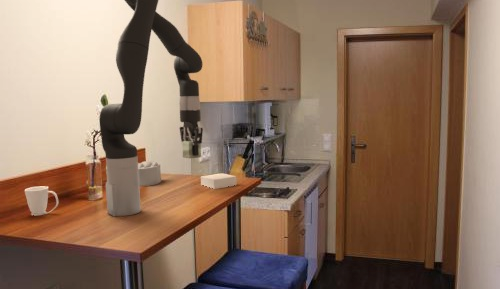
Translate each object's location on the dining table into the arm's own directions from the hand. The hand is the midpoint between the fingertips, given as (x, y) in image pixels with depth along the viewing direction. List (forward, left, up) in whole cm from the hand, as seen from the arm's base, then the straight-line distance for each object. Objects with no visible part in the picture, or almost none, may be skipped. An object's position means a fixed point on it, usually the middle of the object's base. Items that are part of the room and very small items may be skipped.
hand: (191, 154), depth 167 cm
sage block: (0, 0, -1) cm, 1 cm away
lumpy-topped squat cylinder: (-7, +26, -14) cm, 30 cm away
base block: (+11, 0, -13) cm, 17 cm away
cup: (-52, +2, -13) cm, 54 cm away
